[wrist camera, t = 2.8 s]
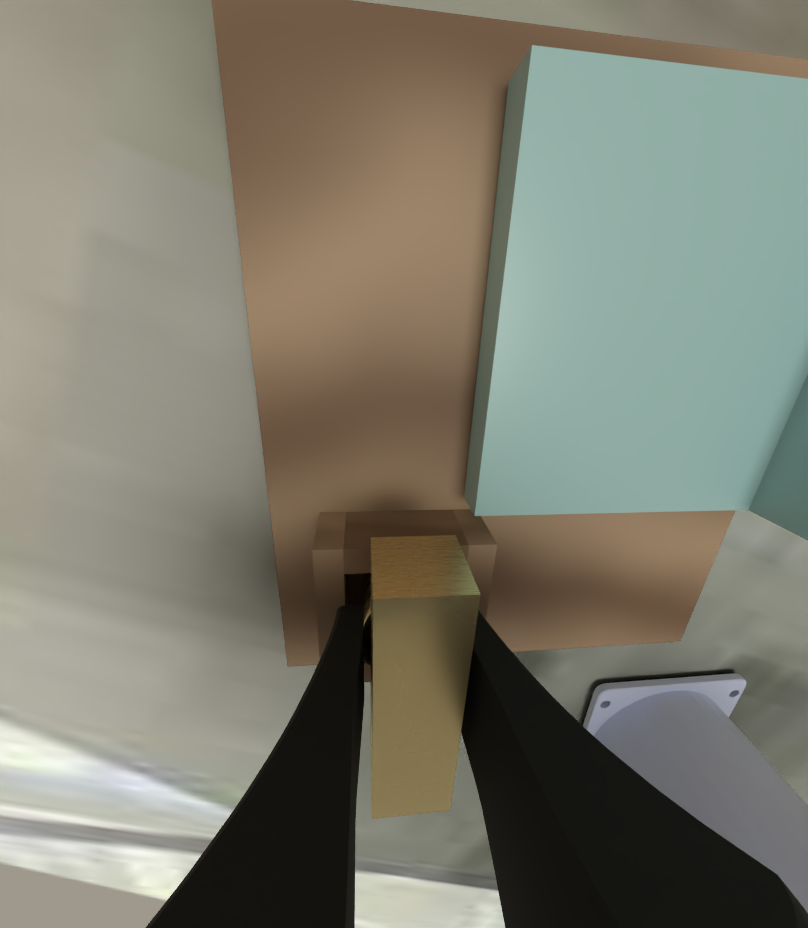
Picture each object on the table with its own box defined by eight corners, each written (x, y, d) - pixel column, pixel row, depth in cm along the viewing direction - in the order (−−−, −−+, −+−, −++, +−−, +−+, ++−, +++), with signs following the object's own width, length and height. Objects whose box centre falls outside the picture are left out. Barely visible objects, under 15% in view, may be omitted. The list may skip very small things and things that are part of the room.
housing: (654, 614, 17) (723, 685, 14) (294, 634, 15) (276, 720, 12) (843, 106, 10) (1066, 10, 7) (234, 36, 8) (155, -135, 5)
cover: (746, 492, 13) (861, 545, 10) (464, 496, 12) (498, 558, 9) (902, 125, 9) (1161, 35, 6) (508, 81, 8) (593, -53, 5)
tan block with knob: (426, 647, 14) (457, 809, 10) (363, 651, 14) (364, 819, 9) (439, 481, 12) (491, 593, 7) (361, 482, 11) (362, 599, 7)
